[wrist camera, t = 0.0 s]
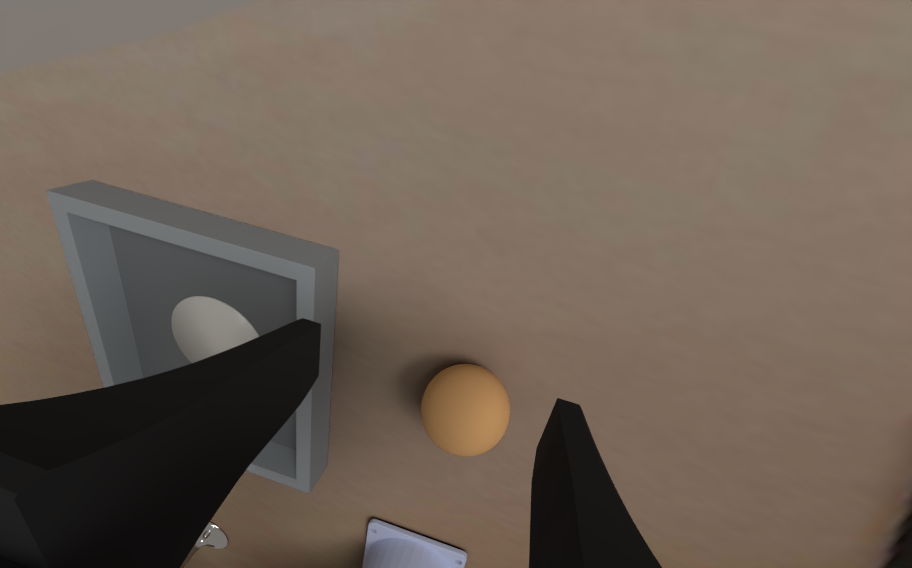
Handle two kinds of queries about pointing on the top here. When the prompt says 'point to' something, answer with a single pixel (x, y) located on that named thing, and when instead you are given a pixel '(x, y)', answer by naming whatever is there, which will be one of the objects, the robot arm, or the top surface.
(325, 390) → the grey serving tray
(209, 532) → the wineglass
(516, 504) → the top surface
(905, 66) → the top surface
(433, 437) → the ball
